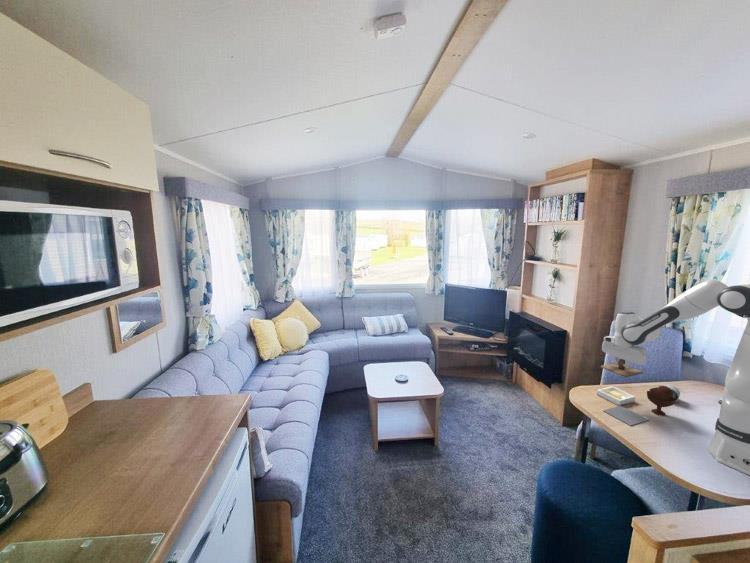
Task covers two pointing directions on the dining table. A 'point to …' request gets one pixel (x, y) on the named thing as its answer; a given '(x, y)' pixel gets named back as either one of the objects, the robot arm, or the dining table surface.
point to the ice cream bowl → (661, 398)
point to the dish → (617, 401)
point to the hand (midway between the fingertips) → (621, 366)
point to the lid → (621, 369)
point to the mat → (626, 415)
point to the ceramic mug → (674, 392)
